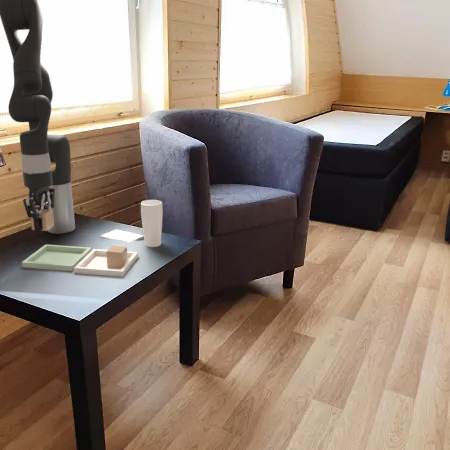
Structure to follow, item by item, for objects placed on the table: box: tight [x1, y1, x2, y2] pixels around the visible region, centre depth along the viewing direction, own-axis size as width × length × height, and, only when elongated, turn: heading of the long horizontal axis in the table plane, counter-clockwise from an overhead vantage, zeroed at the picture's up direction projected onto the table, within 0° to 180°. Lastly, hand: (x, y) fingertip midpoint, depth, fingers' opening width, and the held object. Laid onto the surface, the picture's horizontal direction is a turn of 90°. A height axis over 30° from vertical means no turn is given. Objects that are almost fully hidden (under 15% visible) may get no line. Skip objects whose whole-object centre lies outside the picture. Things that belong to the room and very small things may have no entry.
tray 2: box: [73, 248, 139, 278], centre depth 138 cm, size 14×14×2 cm
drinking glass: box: [140, 199, 164, 248], centre depth 151 cm, size 7×7×15 cm
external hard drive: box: [100, 228, 144, 243], centre depth 161 cm, size 2×8×12 cm
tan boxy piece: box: [30, 209, 54, 232], centre depth 137 cm, size 4×4×5 cm
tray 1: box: [21, 244, 93, 272], centre depth 140 cm, size 14×15×2 cm
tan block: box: [106, 245, 128, 269], centre depth 136 cm, size 4×4×5 cm
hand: (43, 226), depth 137 cm, fingers closed on tan boxy piece, 4 cm apart
